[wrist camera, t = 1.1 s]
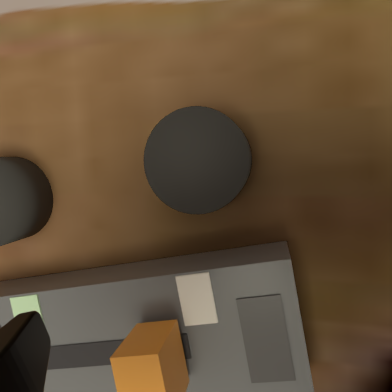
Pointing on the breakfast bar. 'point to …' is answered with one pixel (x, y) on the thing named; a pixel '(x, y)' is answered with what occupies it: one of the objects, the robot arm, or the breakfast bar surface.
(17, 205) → the coil
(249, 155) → the coil
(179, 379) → the orange upright box
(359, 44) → the breakfast bar surface
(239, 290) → the grey flat block
